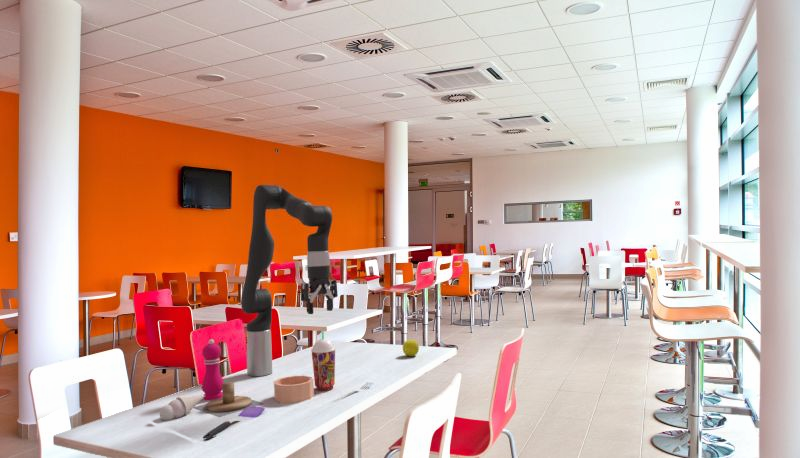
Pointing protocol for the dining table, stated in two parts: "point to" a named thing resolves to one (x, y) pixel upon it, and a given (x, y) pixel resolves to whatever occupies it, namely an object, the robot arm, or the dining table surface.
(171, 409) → the ice cream cone
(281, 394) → the bowl
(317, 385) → the smoothie
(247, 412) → the spatula
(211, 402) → the lid
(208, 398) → the pepper mill
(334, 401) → the fork
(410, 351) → the tennis ball
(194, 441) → the dining table surface
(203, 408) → the mat
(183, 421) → the dining table surface
